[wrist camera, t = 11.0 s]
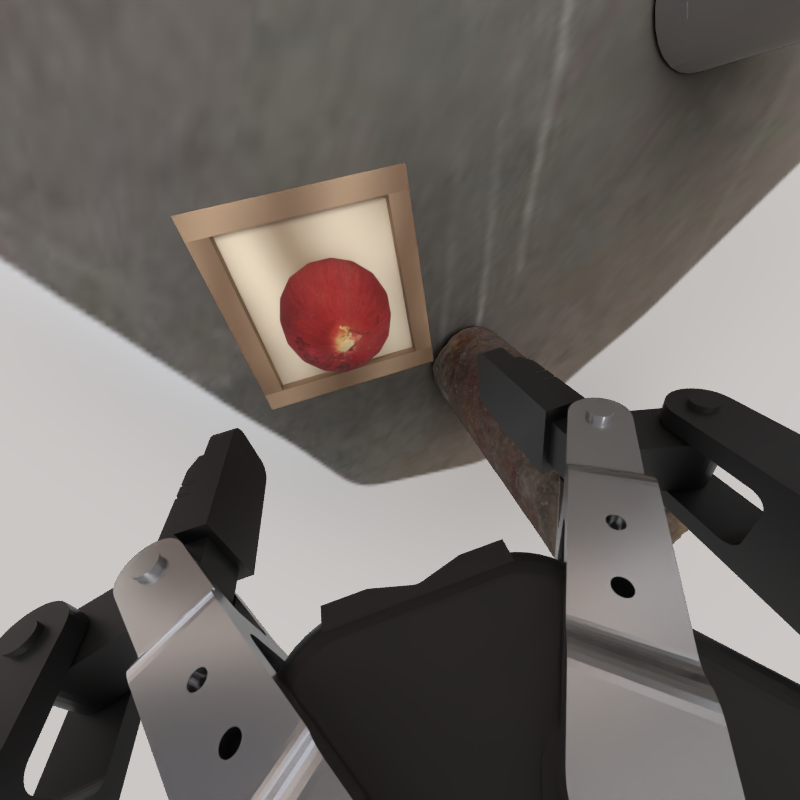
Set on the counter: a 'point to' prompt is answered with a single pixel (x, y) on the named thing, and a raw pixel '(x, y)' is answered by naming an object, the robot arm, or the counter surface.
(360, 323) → the pomegranate
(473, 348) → the rusty metal cylinder
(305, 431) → the counter surface
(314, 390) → the pedestal
